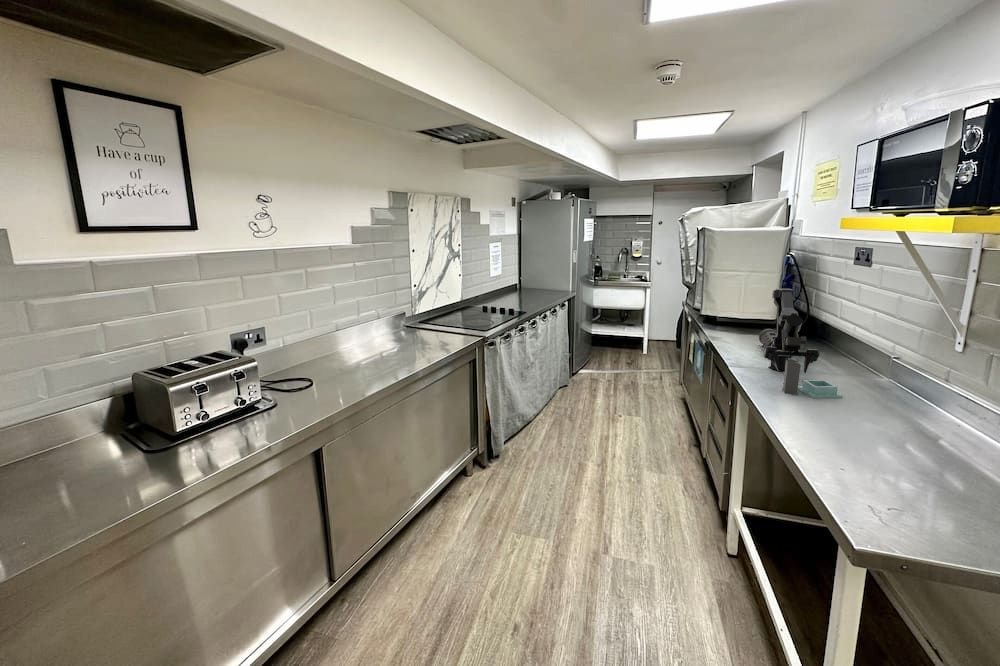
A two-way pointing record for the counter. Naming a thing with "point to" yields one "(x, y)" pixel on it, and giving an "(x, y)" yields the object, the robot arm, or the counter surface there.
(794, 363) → the plug
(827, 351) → the counter surface
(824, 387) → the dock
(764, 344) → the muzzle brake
